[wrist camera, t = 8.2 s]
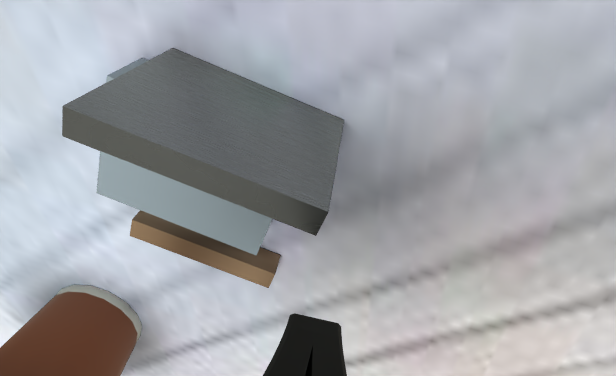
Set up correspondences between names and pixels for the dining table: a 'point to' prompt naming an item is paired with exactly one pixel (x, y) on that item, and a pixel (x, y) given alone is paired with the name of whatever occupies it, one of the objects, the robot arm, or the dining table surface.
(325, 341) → the robot arm
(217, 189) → the grey flat block
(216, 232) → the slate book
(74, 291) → the coffee cup
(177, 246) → the walnut rail
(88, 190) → the dining table surface
